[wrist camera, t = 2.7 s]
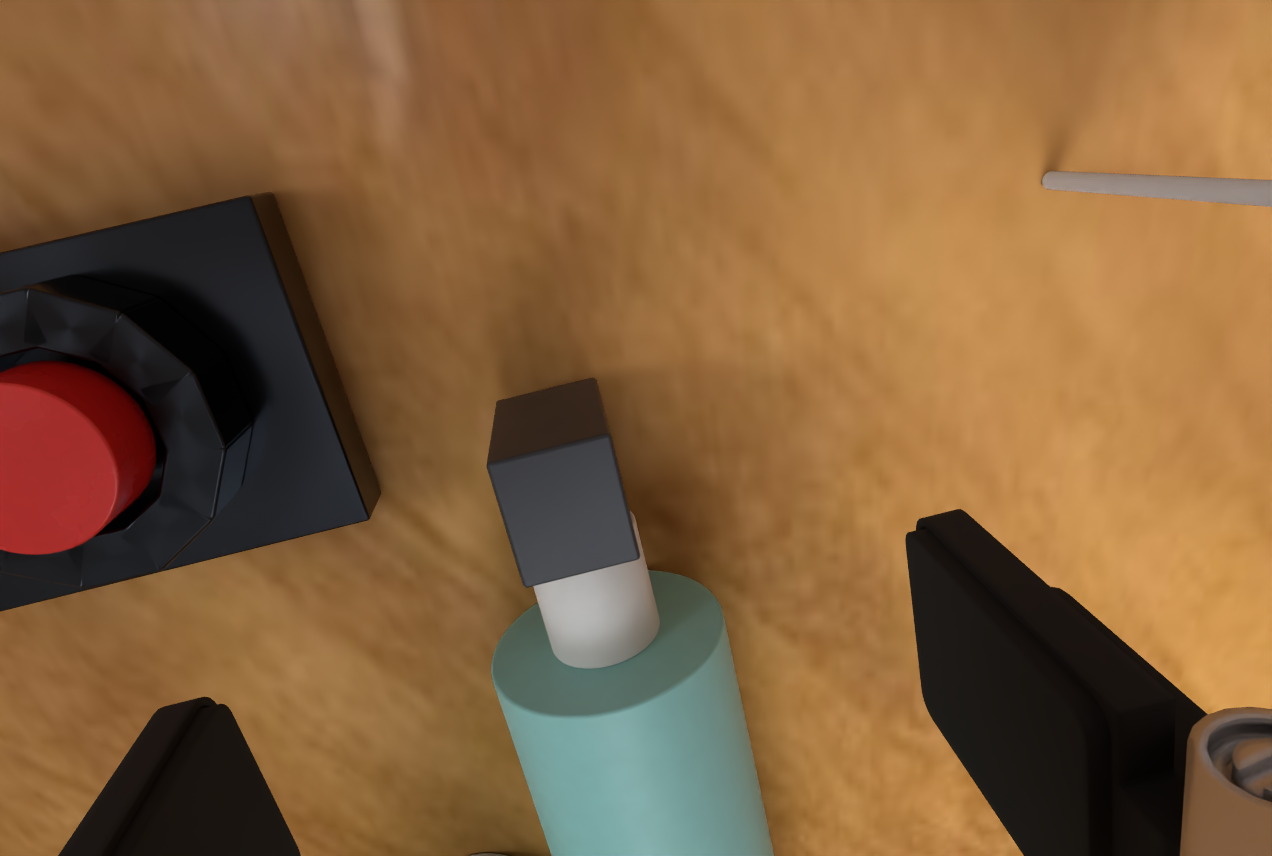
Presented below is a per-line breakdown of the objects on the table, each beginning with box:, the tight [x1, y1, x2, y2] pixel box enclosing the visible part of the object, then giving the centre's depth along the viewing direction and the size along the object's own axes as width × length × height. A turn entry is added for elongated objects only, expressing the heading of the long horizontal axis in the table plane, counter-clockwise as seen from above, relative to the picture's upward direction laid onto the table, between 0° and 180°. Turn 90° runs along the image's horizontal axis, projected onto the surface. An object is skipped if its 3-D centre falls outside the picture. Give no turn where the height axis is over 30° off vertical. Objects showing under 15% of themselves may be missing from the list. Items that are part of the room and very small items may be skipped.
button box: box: [0, 192, 381, 611], centre depth 19 cm, size 10×8×4 cm
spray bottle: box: [487, 378, 774, 856], centre depth 22 cm, size 6×6×20 cm
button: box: [0, 361, 156, 555], centre depth 16 cm, size 4×4×2 cm
